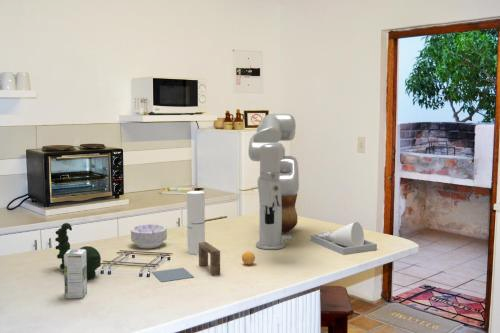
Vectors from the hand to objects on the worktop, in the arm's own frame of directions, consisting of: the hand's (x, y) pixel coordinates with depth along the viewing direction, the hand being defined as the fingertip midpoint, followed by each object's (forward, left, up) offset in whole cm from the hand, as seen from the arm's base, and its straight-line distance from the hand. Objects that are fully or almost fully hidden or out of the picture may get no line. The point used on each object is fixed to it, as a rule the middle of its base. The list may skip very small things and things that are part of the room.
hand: (269, 223), depth 207 cm
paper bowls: (+36, -43, -15) cm, 58 cm away
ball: (+9, 0, -13) cm, 15 cm away
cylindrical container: (+21, -25, -15) cm, 36 cm away
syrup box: (+73, +7, -15) cm, 75 cm away
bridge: (+25, 0, -15) cm, 29 cm away
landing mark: (+39, 0, -15) cm, 42 cm away
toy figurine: (+69, -15, -15) cm, 72 cm away
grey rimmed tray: (-40, -8, -15) cm, 44 cm away
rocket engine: (-40, -8, -15) cm, 44 cm away
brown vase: (-29, -41, -15) cm, 53 cm away
